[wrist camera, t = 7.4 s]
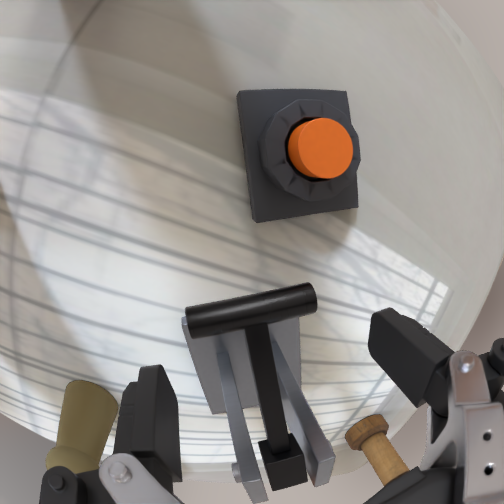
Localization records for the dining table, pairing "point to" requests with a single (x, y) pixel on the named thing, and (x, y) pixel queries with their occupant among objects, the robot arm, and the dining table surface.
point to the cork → (83, 427)
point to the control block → (277, 157)
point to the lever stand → (244, 396)
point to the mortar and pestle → (377, 447)
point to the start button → (320, 148)
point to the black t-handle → (262, 365)
